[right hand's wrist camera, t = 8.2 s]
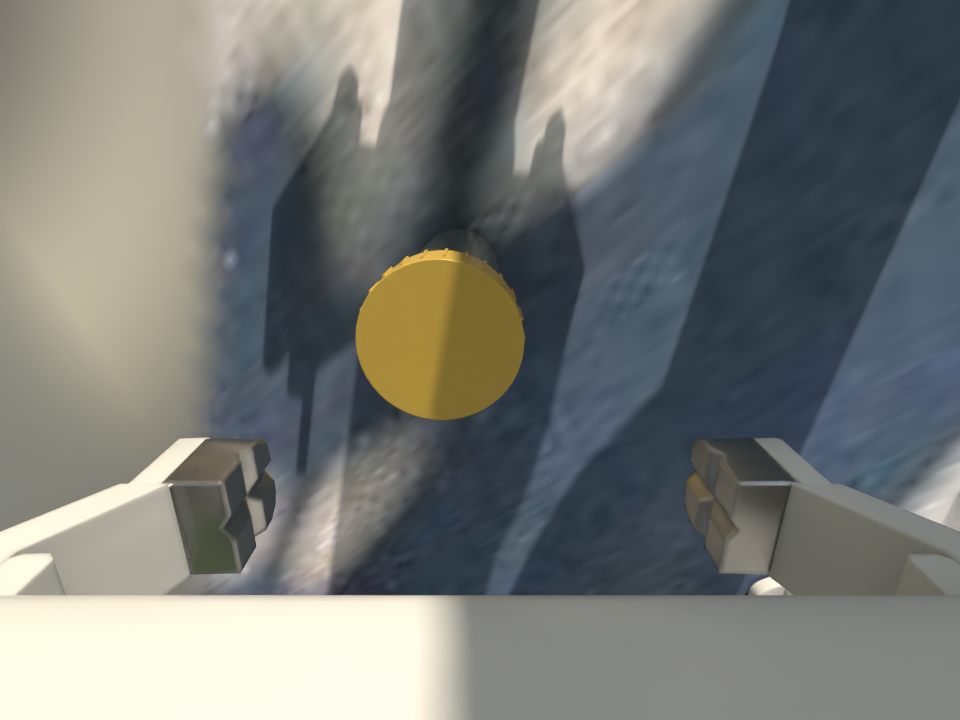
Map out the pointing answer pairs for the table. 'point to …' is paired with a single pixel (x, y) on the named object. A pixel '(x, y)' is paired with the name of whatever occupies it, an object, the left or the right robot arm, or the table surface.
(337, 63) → the table surface
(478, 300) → the lid
